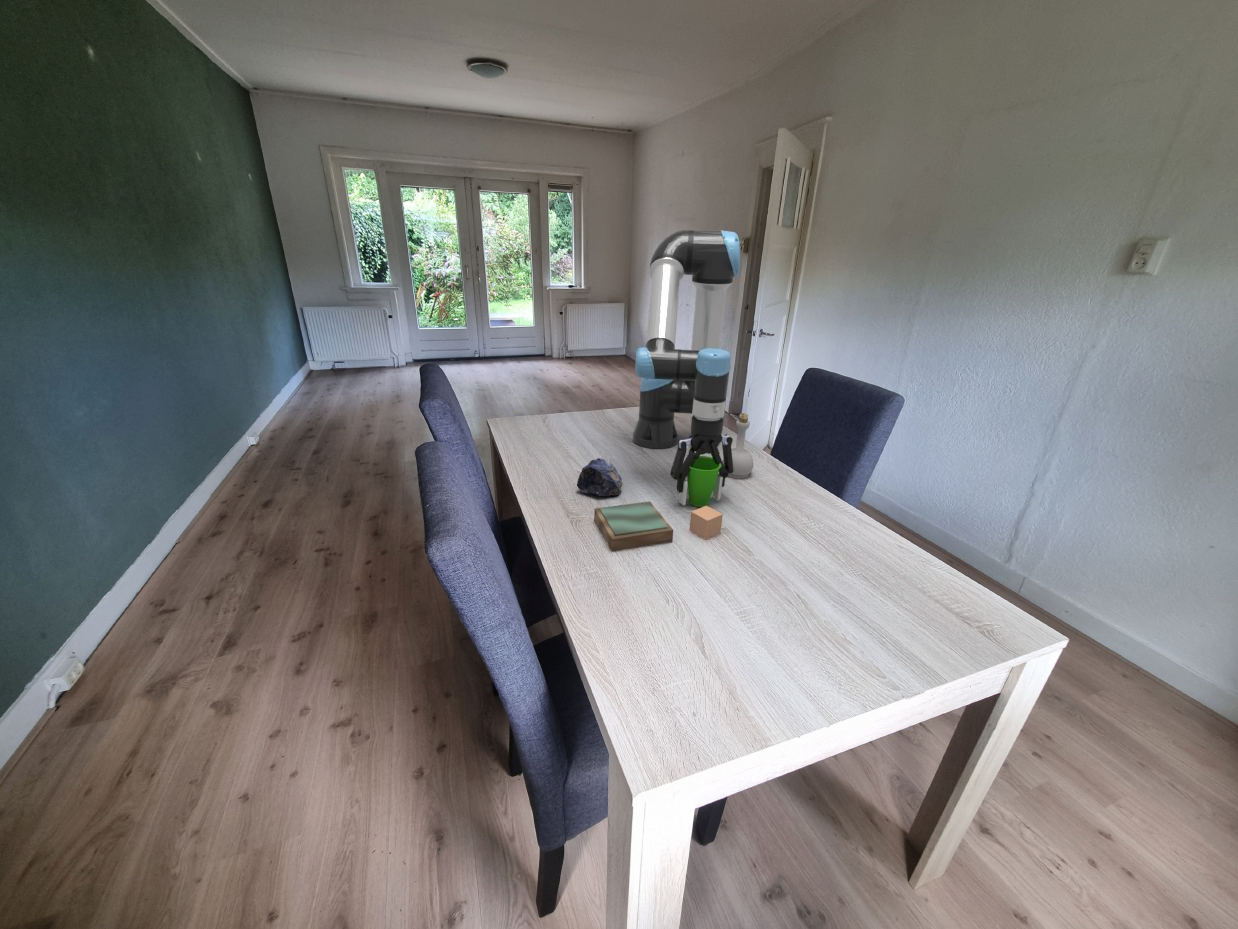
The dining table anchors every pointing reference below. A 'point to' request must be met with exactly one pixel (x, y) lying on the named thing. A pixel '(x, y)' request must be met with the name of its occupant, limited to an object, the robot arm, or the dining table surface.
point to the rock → (600, 478)
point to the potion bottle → (741, 451)
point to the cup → (702, 480)
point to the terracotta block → (706, 522)
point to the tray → (632, 526)
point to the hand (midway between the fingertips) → (699, 500)
